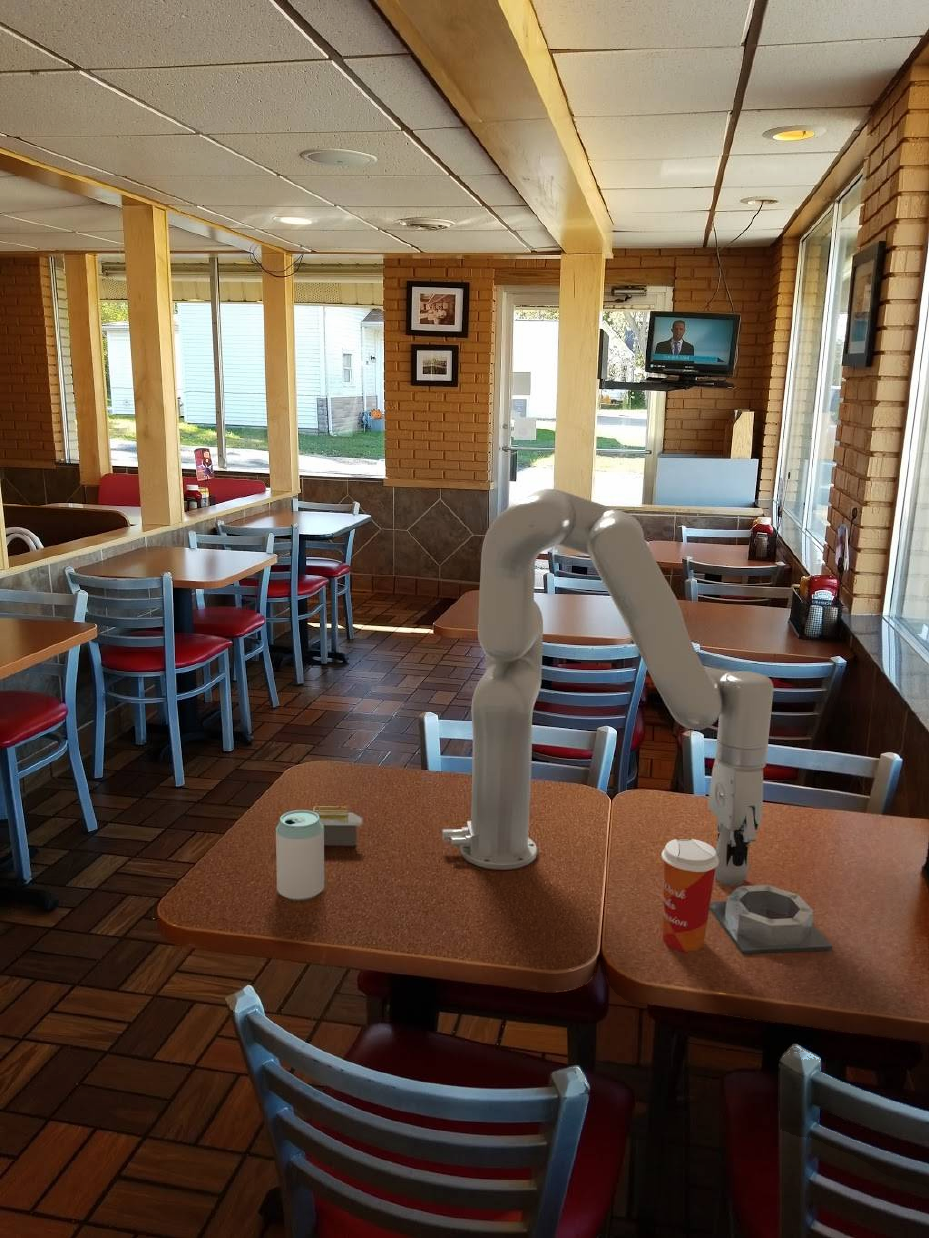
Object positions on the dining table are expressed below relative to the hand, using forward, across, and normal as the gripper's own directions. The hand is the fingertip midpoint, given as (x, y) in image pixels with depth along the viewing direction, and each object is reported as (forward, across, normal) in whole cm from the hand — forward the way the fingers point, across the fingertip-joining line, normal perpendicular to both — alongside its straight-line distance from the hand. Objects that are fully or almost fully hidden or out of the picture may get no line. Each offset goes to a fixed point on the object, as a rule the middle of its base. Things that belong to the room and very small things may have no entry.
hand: (730, 861), depth 152 cm
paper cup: (+3, +16, -14) cm, 22 cm away
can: (+3, -2, -67) cm, 67 cm away
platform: (+4, -18, -62) cm, 65 cm away
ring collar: (+3, +14, 0) cm, 14 cm away
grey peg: (+3, 0, 0) cm, 3 cm away
